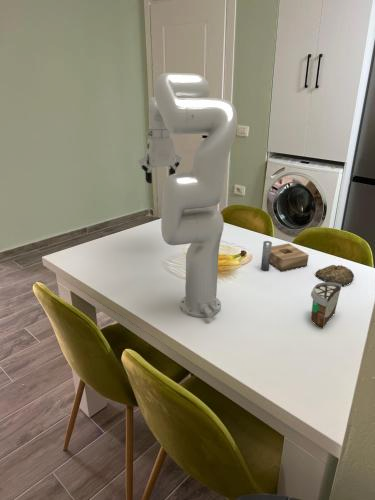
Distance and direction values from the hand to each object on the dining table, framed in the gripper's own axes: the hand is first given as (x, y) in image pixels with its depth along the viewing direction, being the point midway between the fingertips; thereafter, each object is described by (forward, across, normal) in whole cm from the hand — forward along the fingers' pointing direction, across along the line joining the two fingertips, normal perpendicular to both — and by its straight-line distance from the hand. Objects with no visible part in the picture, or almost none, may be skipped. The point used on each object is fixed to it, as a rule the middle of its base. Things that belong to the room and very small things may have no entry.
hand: (160, 181), depth 140 cm
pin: (+30, +27, -32) cm, 51 cm away
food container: (+30, +19, -64) cm, 74 cm away
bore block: (+30, +37, -32) cm, 57 cm away
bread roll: (+31, +45, -50) cm, 74 cm away
